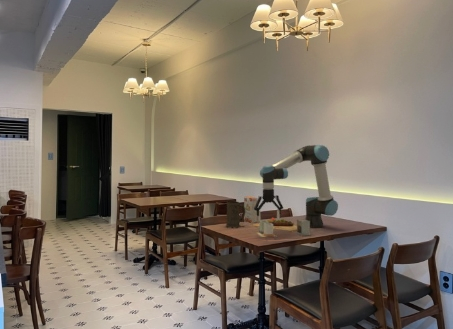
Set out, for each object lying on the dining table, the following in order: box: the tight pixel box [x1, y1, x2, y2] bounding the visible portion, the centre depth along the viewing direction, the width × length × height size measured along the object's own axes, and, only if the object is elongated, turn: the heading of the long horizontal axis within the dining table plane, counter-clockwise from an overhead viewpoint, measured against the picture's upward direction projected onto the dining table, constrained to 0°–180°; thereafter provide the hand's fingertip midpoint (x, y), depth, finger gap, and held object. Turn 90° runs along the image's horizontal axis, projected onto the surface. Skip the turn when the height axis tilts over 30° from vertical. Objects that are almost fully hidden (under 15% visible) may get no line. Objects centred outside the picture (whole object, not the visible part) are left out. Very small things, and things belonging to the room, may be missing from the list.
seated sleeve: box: [258, 220, 269, 234], centre depth 253 cm, size 6×6×8 cm
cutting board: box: [252, 217, 297, 232], centre depth 281 cm, size 35×23×8 cm
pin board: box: [254, 231, 278, 238], centre depth 248 cm, size 11×16×6 cm
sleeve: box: [263, 223, 275, 238], centre depth 244 cm, size 6×6×8 cm
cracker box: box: [243, 195, 259, 224], centre depth 307 cm, size 14×6×21 cm, turn 24°
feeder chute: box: [296, 218, 311, 237], centre depth 254 cm, size 6×8×10 cm
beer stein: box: [225, 200, 245, 228], centre depth 285 cm, size 15×11×20 cm
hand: (268, 220), depth 244 cm, fingers open, 13 cm apart
